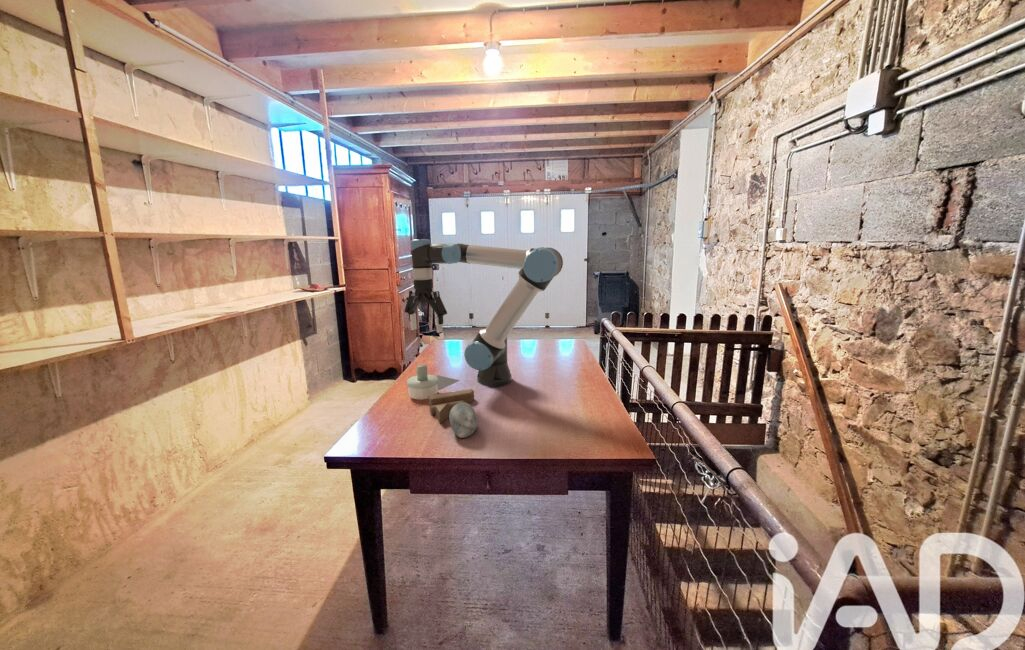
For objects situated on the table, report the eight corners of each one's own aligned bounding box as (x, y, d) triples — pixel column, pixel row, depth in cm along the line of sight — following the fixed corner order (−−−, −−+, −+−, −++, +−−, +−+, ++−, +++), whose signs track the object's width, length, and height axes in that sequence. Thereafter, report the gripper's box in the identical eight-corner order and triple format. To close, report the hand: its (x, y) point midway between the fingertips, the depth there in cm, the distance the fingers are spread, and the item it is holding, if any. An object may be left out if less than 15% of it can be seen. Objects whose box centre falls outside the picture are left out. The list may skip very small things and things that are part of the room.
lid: (444, 381, 155) (443, 364, 153) (422, 390, 145) (421, 373, 143) (422, 376, 161) (421, 360, 160) (400, 384, 151) (399, 367, 150)
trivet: (459, 381, 169) (459, 380, 169) (439, 390, 158) (439, 389, 158) (437, 376, 176) (437, 375, 175) (416, 385, 165) (416, 384, 165)
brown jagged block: (425, 392, 142) (472, 385, 150) (426, 407, 144) (472, 399, 151) (435, 410, 127) (487, 400, 134) (436, 426, 128) (487, 416, 135)
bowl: (443, 393, 156) (442, 381, 155) (423, 402, 146) (422, 390, 145) (423, 388, 161) (422, 376, 160) (403, 396, 152) (402, 384, 151)
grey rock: (444, 412, 130) (456, 390, 126) (470, 421, 133) (483, 400, 129) (441, 441, 118) (455, 417, 114) (469, 450, 120) (484, 427, 117)
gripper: (453, 278, 151) (456, 331, 156) (406, 277, 163) (410, 326, 167) (441, 280, 145) (445, 335, 149) (393, 279, 156) (397, 330, 161)
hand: (426, 330), depth 158 cm, fingers open, 13 cm apart
